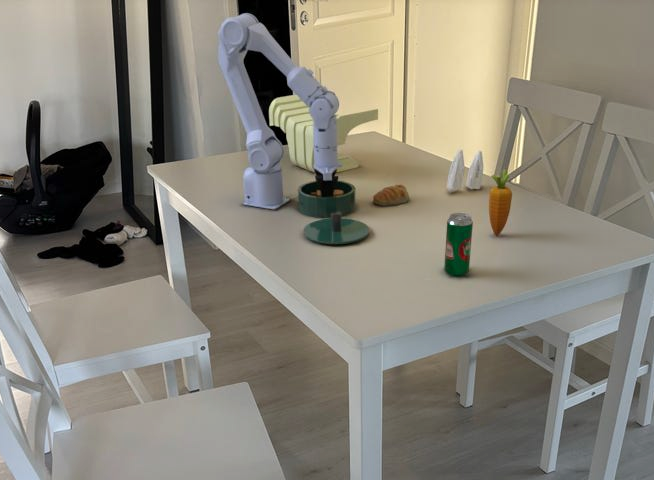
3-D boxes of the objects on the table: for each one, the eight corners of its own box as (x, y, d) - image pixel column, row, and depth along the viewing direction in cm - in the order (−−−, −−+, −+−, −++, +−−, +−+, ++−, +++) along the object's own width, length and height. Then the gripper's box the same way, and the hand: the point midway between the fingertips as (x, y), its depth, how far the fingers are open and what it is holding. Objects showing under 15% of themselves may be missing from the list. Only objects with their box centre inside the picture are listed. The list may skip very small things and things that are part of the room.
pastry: (383, 209, 185) (383, 194, 183) (366, 202, 190) (366, 188, 188) (411, 201, 190) (411, 186, 188) (394, 195, 195) (394, 180, 193)
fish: (312, 209, 184) (311, 195, 182) (311, 204, 187) (310, 190, 185) (344, 207, 185) (343, 193, 183) (342, 203, 188) (342, 189, 186)
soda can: (441, 267, 154) (445, 212, 148) (465, 266, 155) (470, 211, 148) (446, 278, 150) (450, 221, 144) (471, 277, 150) (475, 220, 144)
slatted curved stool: (272, 160, 222) (268, 99, 213) (314, 151, 231) (312, 91, 222) (332, 184, 202) (331, 117, 193) (377, 173, 211) (378, 108, 202)
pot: (340, 221, 178) (339, 201, 176) (288, 212, 183) (287, 193, 181) (364, 203, 189) (364, 184, 187) (315, 195, 194) (314, 177, 192)
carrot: (494, 241, 166) (500, 175, 159) (481, 234, 170) (486, 169, 162) (512, 237, 168) (519, 172, 161) (498, 230, 172) (505, 166, 164)
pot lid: (352, 251, 162) (352, 229, 160) (291, 240, 168) (290, 218, 165) (379, 228, 174) (380, 207, 171) (322, 218, 180) (321, 198, 177)
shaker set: (450, 196, 193) (453, 154, 187) (440, 192, 196) (443, 150, 190) (485, 188, 198) (489, 147, 193) (475, 184, 201) (478, 143, 196)
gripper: (344, 153, 172) (344, 209, 179) (339, 137, 185) (340, 190, 192) (313, 154, 172) (315, 210, 179) (311, 138, 184) (313, 191, 191)
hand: (326, 200), depth 185 cm, fingers open, 4 cm apart
